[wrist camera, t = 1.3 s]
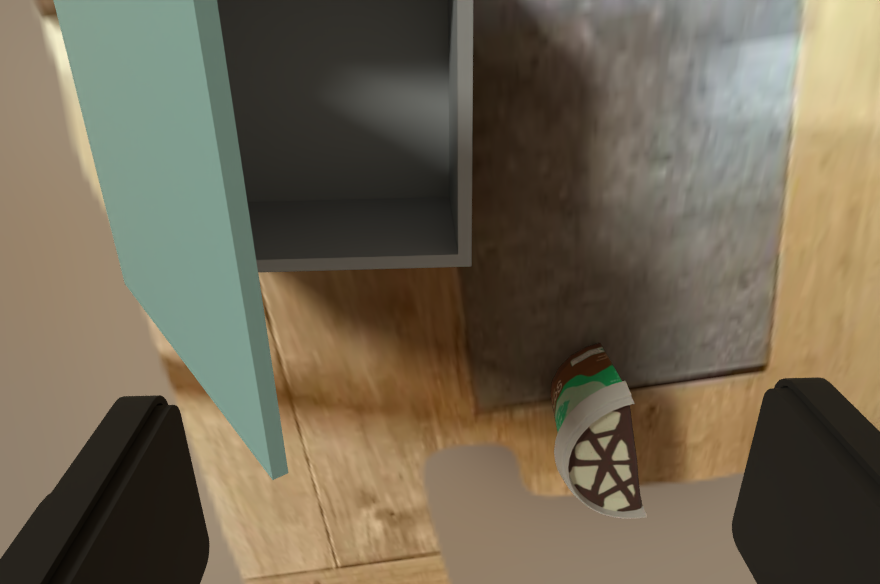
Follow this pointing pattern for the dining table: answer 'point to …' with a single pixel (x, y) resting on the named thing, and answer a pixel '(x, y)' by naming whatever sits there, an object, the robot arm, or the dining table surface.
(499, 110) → the dining table surface
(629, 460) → the food container
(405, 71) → the carton
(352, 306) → the dining table surface
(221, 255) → the lid
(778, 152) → the dining table surface
